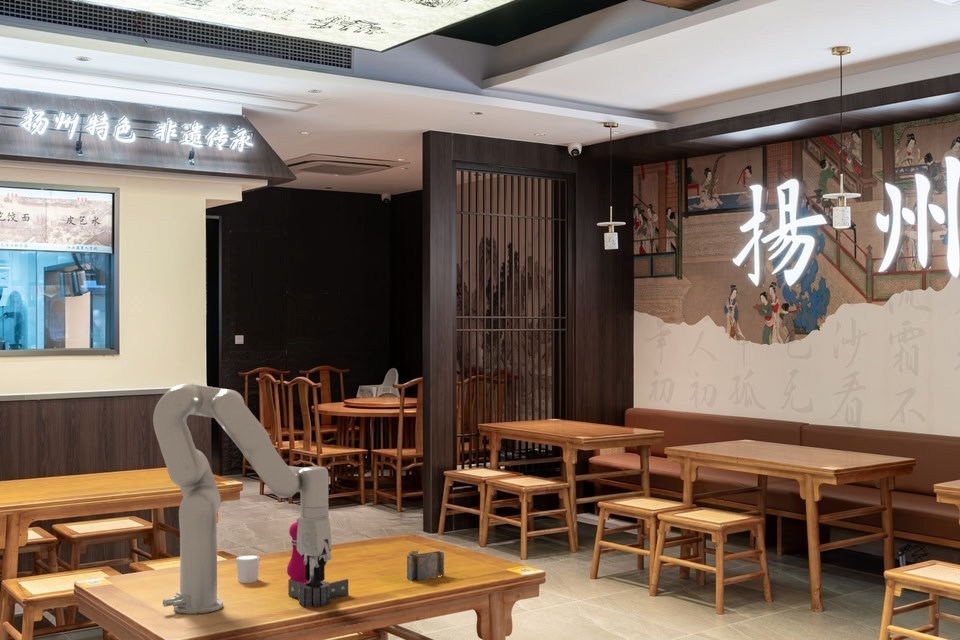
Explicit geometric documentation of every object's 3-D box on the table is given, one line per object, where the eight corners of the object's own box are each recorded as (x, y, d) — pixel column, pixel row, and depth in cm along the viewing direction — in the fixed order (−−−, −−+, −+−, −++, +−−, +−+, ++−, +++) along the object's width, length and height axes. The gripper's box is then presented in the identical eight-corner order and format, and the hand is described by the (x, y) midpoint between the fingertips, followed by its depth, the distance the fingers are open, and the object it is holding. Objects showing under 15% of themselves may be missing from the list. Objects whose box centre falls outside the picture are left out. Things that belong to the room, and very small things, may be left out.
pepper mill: (306, 588, 279) (306, 519, 279) (283, 587, 280) (283, 518, 281) (315, 582, 286) (315, 514, 286) (292, 581, 287) (292, 514, 288)
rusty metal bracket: (412, 583, 287) (411, 550, 287) (407, 581, 289) (407, 548, 290) (444, 578, 293) (444, 545, 293) (439, 576, 296) (439, 544, 296)
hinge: (311, 608, 258) (311, 590, 258) (277, 598, 268) (277, 580, 269) (357, 597, 269) (357, 579, 269) (322, 587, 280) (322, 570, 280)
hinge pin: (314, 587, 262) (313, 550, 262) (307, 585, 264) (307, 548, 264) (323, 585, 264) (322, 548, 264) (316, 583, 266) (316, 547, 266)
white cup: (242, 584, 284) (242, 560, 284) (232, 580, 289) (232, 556, 290) (263, 580, 289) (263, 557, 289) (253, 576, 294) (253, 553, 294)
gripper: (285, 510, 267) (285, 578, 267) (322, 517, 256) (322, 587, 255) (307, 507, 273) (307, 573, 272) (344, 514, 261) (344, 582, 261)
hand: (314, 579), depth 264 cm, fingers closed on hinge pin, 3 cm apart
